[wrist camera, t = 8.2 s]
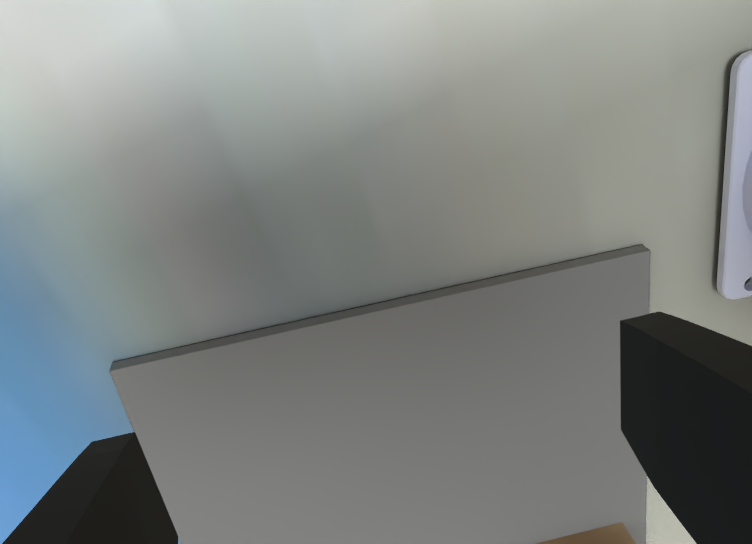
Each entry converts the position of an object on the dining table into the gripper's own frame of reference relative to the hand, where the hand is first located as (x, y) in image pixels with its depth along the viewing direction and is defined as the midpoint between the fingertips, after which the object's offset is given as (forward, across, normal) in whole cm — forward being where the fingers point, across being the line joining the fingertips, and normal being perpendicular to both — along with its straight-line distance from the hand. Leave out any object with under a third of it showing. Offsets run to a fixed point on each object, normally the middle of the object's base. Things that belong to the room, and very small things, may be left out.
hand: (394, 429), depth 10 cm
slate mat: (+10, -1, +13) cm, 17 cm away
